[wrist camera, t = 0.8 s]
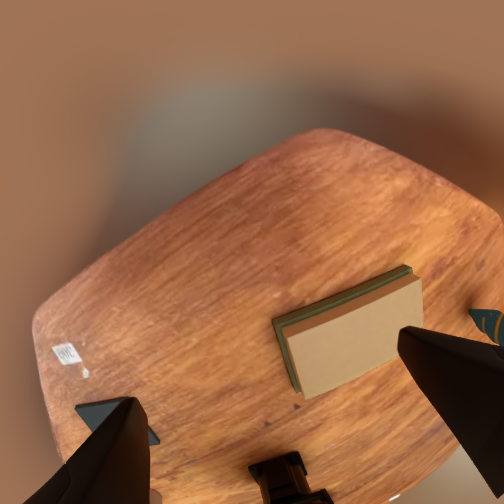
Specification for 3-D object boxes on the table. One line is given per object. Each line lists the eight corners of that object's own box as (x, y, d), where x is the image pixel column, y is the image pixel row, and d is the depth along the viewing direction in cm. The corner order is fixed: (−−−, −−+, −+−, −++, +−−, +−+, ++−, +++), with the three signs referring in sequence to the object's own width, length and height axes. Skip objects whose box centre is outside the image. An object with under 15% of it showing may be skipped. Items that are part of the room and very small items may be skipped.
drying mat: (160, 440, 25) (160, 444, 24) (109, 447, 24) (108, 450, 24) (128, 396, 23) (126, 400, 23) (75, 405, 23) (74, 408, 22)
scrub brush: (410, 331, 27) (426, 342, 24) (292, 386, 26) (302, 405, 23) (404, 264, 25) (424, 272, 22) (271, 319, 24) (280, 335, 21)
